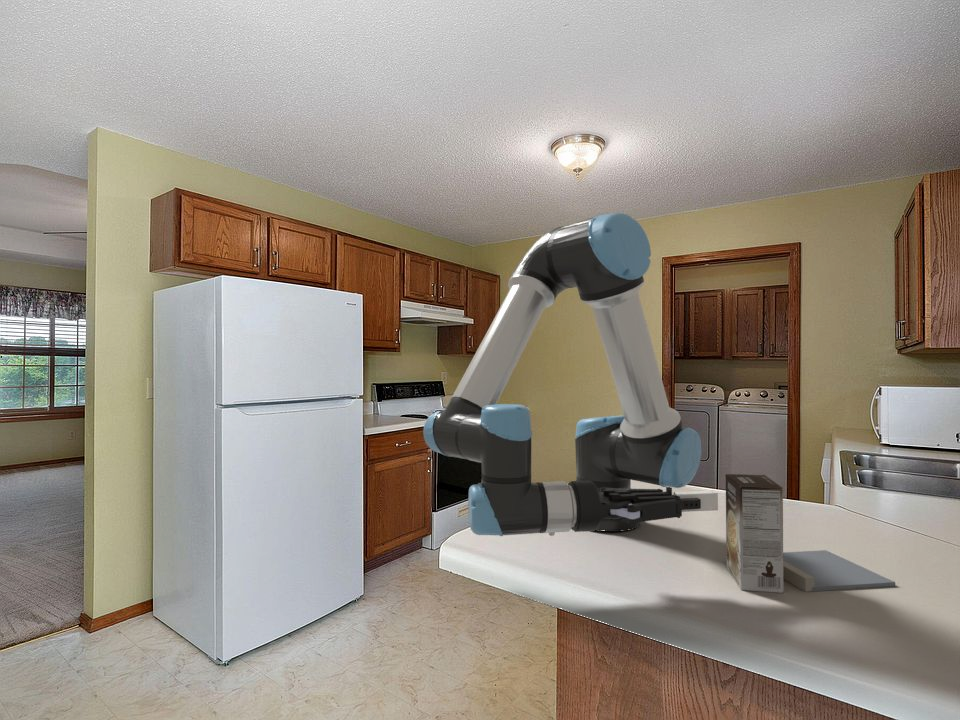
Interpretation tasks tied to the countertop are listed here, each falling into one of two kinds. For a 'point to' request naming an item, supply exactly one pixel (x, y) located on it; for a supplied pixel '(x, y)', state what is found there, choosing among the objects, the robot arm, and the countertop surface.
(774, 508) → the coffee box
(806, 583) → the mat
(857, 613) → the countertop surface
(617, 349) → the robot arm
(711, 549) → the countertop surface
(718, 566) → the countertop surface
